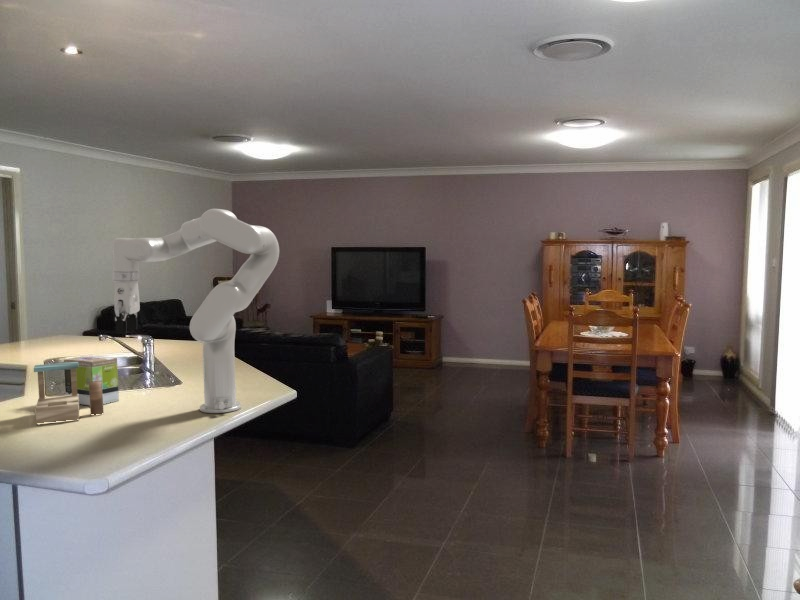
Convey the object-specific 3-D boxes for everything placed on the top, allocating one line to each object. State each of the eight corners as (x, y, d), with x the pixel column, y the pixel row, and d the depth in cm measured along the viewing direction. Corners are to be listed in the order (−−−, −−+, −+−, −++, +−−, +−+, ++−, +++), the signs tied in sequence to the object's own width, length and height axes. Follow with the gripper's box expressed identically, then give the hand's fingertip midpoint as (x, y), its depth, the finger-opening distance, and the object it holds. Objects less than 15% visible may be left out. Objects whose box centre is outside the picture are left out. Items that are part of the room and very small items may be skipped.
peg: (103, 414, 202) (102, 382, 201) (90, 416, 201) (88, 383, 200) (103, 412, 205) (101, 380, 205) (90, 413, 204) (88, 381, 203)
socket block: (80, 420, 196) (77, 369, 195) (34, 425, 191) (31, 373, 189) (80, 409, 210) (78, 361, 209) (37, 413, 205) (34, 365, 204)
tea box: (120, 401, 221) (118, 357, 220) (93, 407, 213) (90, 361, 211) (92, 396, 229) (89, 354, 228) (64, 402, 220) (62, 358, 219)
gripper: (128, 279, 199) (129, 335, 201) (146, 276, 217) (147, 328, 218) (103, 278, 199) (104, 335, 200) (123, 275, 216) (124, 328, 217)
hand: (126, 331), depth 209 cm, fingers open, 9 cm apart
